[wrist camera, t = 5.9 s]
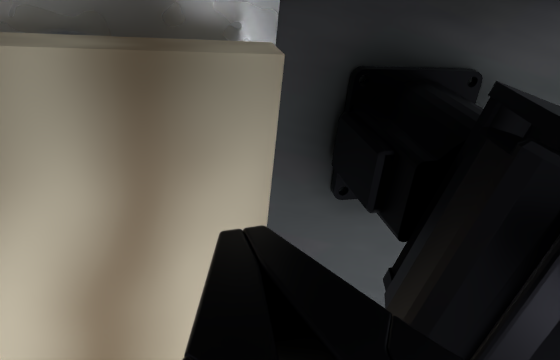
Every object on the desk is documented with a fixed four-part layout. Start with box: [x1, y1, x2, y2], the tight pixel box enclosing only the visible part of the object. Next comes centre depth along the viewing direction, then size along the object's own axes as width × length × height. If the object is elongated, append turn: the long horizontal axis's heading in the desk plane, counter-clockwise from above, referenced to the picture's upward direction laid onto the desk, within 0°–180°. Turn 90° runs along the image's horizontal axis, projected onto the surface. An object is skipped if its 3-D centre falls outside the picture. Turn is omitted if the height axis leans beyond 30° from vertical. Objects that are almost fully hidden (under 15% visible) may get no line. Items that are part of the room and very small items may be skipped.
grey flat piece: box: [0, 0, 280, 45], centre depth 21 cm, size 12×25×4 cm, turn 174°
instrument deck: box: [0, 32, 285, 360], centre depth 18 cm, size 10×22×3 cm, turn 174°
